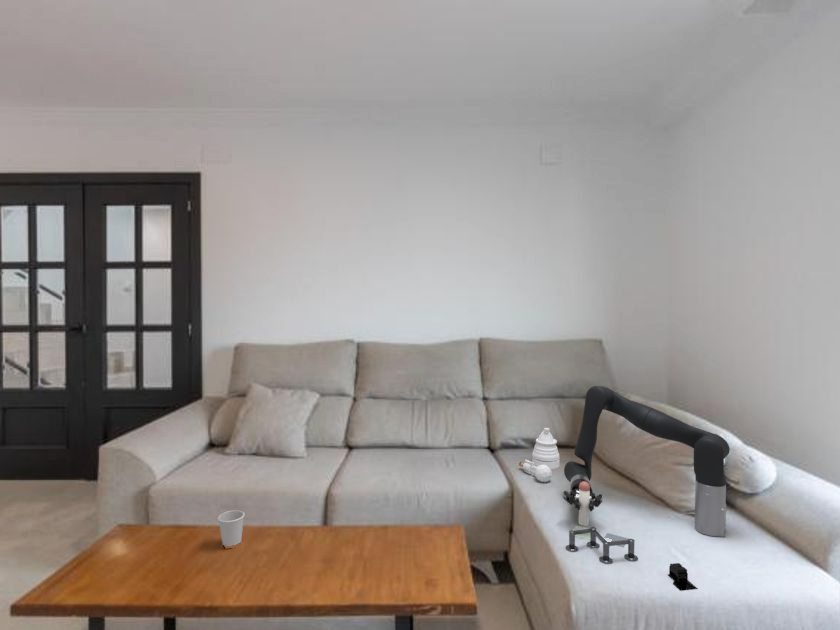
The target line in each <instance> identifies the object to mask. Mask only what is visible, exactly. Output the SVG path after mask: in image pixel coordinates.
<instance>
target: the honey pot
mask: <svg viewBox="0 0 840 630" xmlns="http://www.w3.org/2000/svg"><path fill="white" fill-rule="evenodd" d="M557 443H558V439H556V438H554V437H553V435H552V433H551V432H550V428H549V427H544V428H543V431H542V432H541V433H540V434H539V436H538V437H537V438H536V439H535V445H534V446H533V447H534V448H533V451H532V455H531V456H532V457H531V462H534V465H533V466H536V467H538V466H539V465H546V466H548V467H549V468H550V469H551V470H554V469H557V468H560V459H561V457H560V453H559V450H558V446H557Z"/></svg>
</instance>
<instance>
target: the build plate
mask: <svg viewBox="0 0 840 630" xmlns="http://www.w3.org/2000/svg"><path fill="white" fill-rule="evenodd" d="M668 572H669V573H668V574H666V575H667V576H668V577H669V578H670V579H671V580H672V581H673V582H672V585H673V586H674V587H675V588H676V589H678V591H680V592H682V591H683V592H684V591H691V590H698V589H699V587H697V586H695V585H694V584H693V583H692V582H691V581H690V580H689V579H688V576H689V575H688V574H689V573H688V569H687V568H685V567H684V566H683V565H682V564H681V563H679V562H678V563H677V562H676V563H670V564H669V571H668Z"/></svg>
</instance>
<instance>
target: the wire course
mask: <svg viewBox="0 0 840 630" xmlns="http://www.w3.org/2000/svg"><path fill="white" fill-rule="evenodd" d="M597 531H598V530H597V528H596V527H593V526H592V527H589V528H588V529H583V530H576V531H573V529H572V530H568V544H567V545H566V546H565V550H566V551H568V552H570V553H577V552H578V551H579V547H578V546H576V536H575V535H577V534H584V533H590V540H589V541H588V542H587V543H586V546H587V547H588V548H589V547H590V548H589V549H592V548H598V549H600V544H599V543H598V542H597V539H598V541H600V543H602V556H599V558H598V559H599V562H600V563H602V564H603V565H612V564H613V563H614V559H612V558H611V557H610V547H612V546H617V545H625V546H626V545H627V553H624V556H623V557H624V559H625V560H627V561H629V562H633V563H634V562H637V561H639V556H637V555H635V539H633V538H629V539H628V540H621V541H611V542H607V541H606V540H605V539H604V537H603V536H602V535H601V534H600V532H599V533H598V532H597Z"/></svg>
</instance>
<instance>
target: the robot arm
mask: <svg viewBox="0 0 840 630" xmlns="http://www.w3.org/2000/svg"><path fill="white" fill-rule="evenodd" d="M603 411H607V412H610V413H613V414H615V415H618V416H620V417H622V418H624V419H625V420H626V421H628V422H629V423H630V424H632V425H634V427H636V428H638V429H640V430H642V431H643V432H646V433H647V434H650V435H651V436H654V437H658V438H660V439H663V440H667V441H668V440H669V441H673V442H678V443H681V444H684V445H686V446H689V447H691V448H692V449H693V473H694V477H695V483H694V484H695V486H694V491H695V492H694V529H695V530H696V531H697V532H698V533H700V534H703V535H706V536H710V537H720V538H721V537H722V538H724V537H725V534H726V529H727V528H726V527H727V524H726V522H727V504H726V503H727V502H726V501H727V476H726V475H725V472H724V471H725V470H724V469H725V468H724V467H725V459H726V458H727V456H728V455H729V454H730V450H731V449H730V445H729V443H728V442H727V440H726V439H725V438H724V437H722V436H720V435H718V434H716V433H714V432H710V431H707V430H704V429H701V428H697V427H695V426H692V425H690V424H688V423H687V422H684V421H682V420H680V419H678V418H675V417H673V416H672V415H669V414H667V413H665V412H662V411H660V410H659V409H656V408H653V407H651V406H649V405H647V404H643V403H640V402H637V401H634V400H631V399H628V398H627V397H625V396H623V395H621V394H619V393H617V392H616V391H614V390H612V389H610V388H608V387H606V386H604V385H603V386H602V385H593V386H591V387H590V388H589V389H588V390H587V391H586V393H585V398H584V409H583V415H582V422H581V426H580V431H579V434H578V438H577V442H576V444H575V448H574V452H573V454H574V455H575V457H577V458H579V459H581V460H582V461H583V462H584V464H582V463H579V462H576V461H574V460H573V461H572V460H571V461H567V462H566V463H565V465H564V467H563V472H564V476H565V479H567V481H568V482H569V483H570V484H569V485H570V487H569V488H570V492H569V491H567V490H564V491H563V499H564V501H565V502H567V503H568V504H569V505H574V507H575V509H577V511H579V510H580V502H579V484H580V483H581V482H583V481H585V482H587V483H588V484H589V485H590V499H589V512H593V511H594V510H595V508H598V507H600V505H601V504H602V503H603V494H602V493H599V494H595V493H594V492H593V489H592V484H591V479H592V461H593V454H594V451H595V448H596V445H597V439H598V426H599V425H598V424H599V419H600V417H601V414H602V412H603Z"/></svg>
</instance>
